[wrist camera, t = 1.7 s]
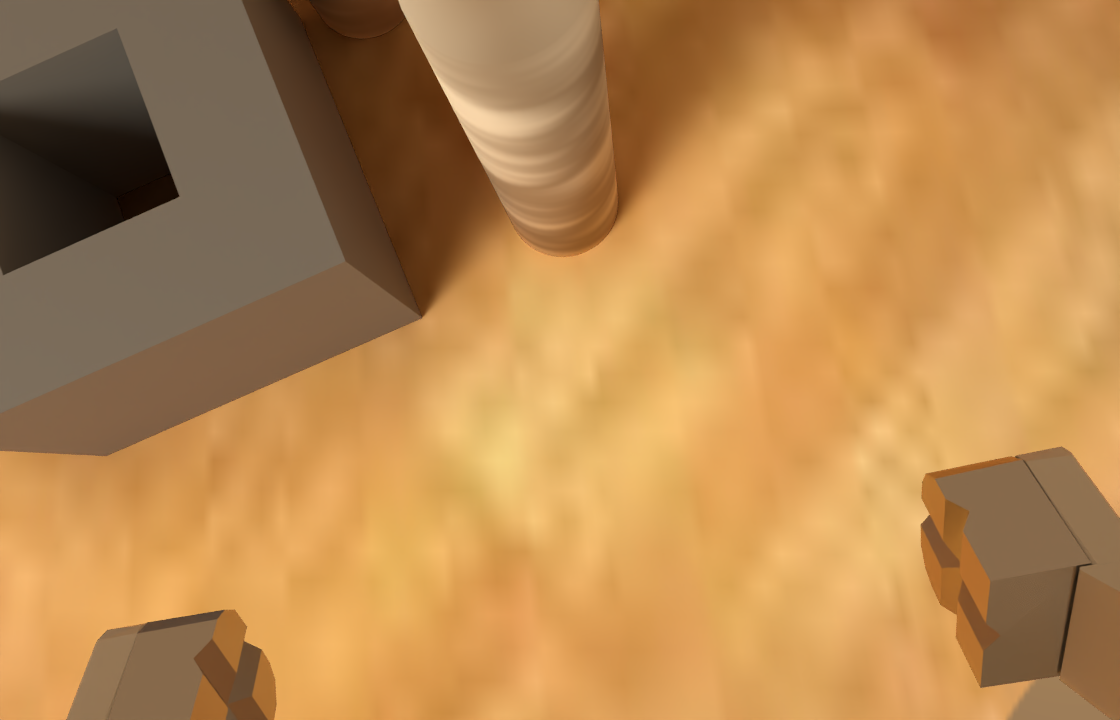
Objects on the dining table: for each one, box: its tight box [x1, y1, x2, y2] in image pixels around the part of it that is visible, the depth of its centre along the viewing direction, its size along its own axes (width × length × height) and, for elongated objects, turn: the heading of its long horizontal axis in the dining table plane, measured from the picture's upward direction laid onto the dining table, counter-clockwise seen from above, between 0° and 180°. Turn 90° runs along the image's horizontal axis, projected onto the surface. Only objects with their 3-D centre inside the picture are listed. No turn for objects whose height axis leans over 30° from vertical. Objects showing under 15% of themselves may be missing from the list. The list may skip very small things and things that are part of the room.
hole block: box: [0, 0, 422, 456], centre depth 35 cm, size 14×14×10 cm
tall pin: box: [398, 0, 619, 257], centre depth 30 cm, size 4×4×18 cm
